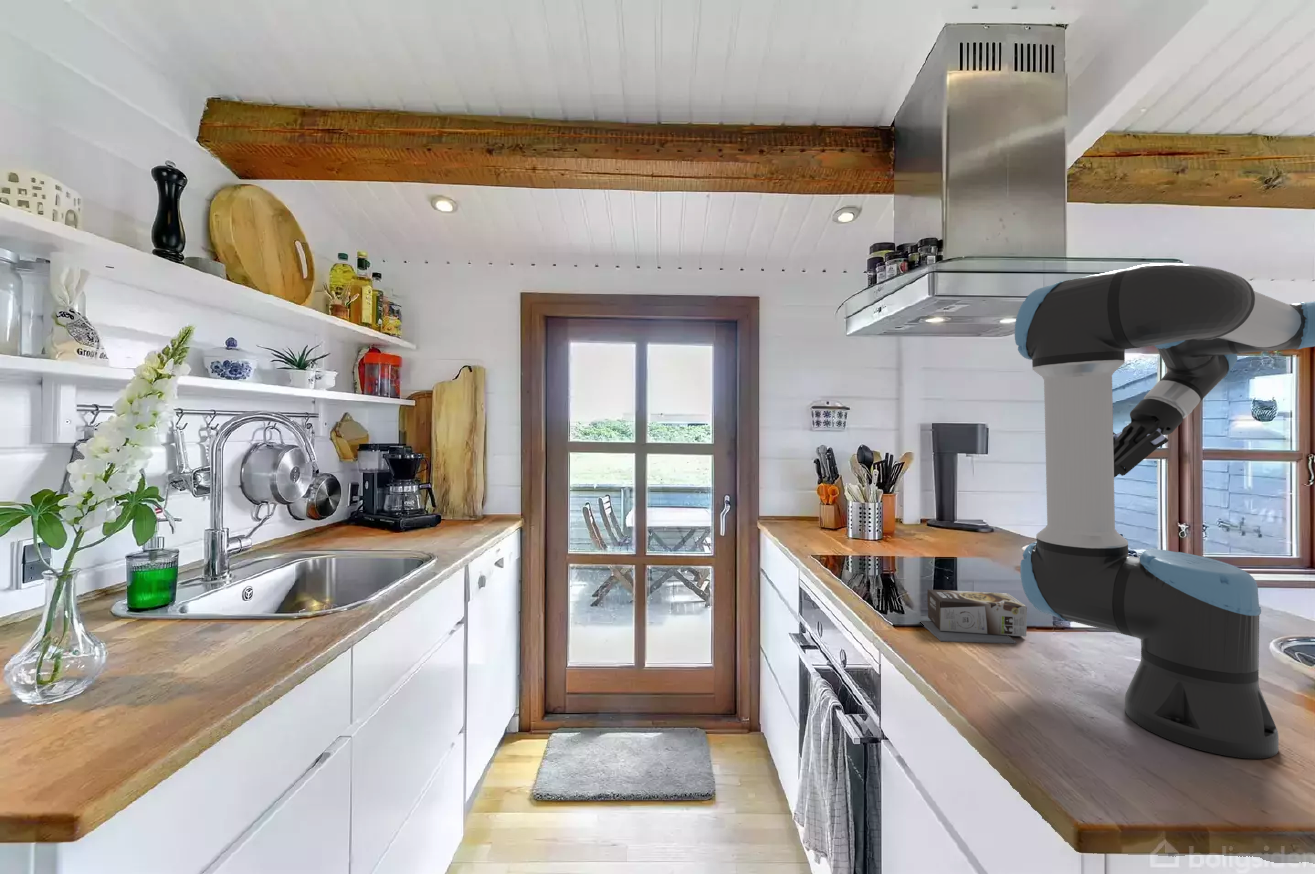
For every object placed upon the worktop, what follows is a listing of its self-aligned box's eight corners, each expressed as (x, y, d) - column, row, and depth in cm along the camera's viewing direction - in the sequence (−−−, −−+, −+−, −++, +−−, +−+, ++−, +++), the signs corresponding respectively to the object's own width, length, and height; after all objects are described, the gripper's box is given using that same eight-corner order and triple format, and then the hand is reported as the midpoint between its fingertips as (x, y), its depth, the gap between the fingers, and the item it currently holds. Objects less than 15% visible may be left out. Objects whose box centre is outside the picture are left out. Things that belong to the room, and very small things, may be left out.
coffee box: (1027, 605, 110) (939, 600, 113) (1027, 637, 110) (939, 632, 113) (1007, 591, 119) (926, 588, 122) (1007, 621, 119) (926, 617, 122)
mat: (987, 624, 119) (987, 622, 119) (1016, 643, 108) (1016, 641, 108) (919, 622, 120) (919, 620, 120) (940, 641, 109) (940, 639, 109)
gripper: (1207, 420, 104) (1119, 514, 105) (1151, 422, 117) (1074, 506, 118) (1175, 394, 105) (1088, 487, 106) (1123, 399, 118) (1045, 482, 119)
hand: (1080, 497), depth 112 cm, fingers closed
